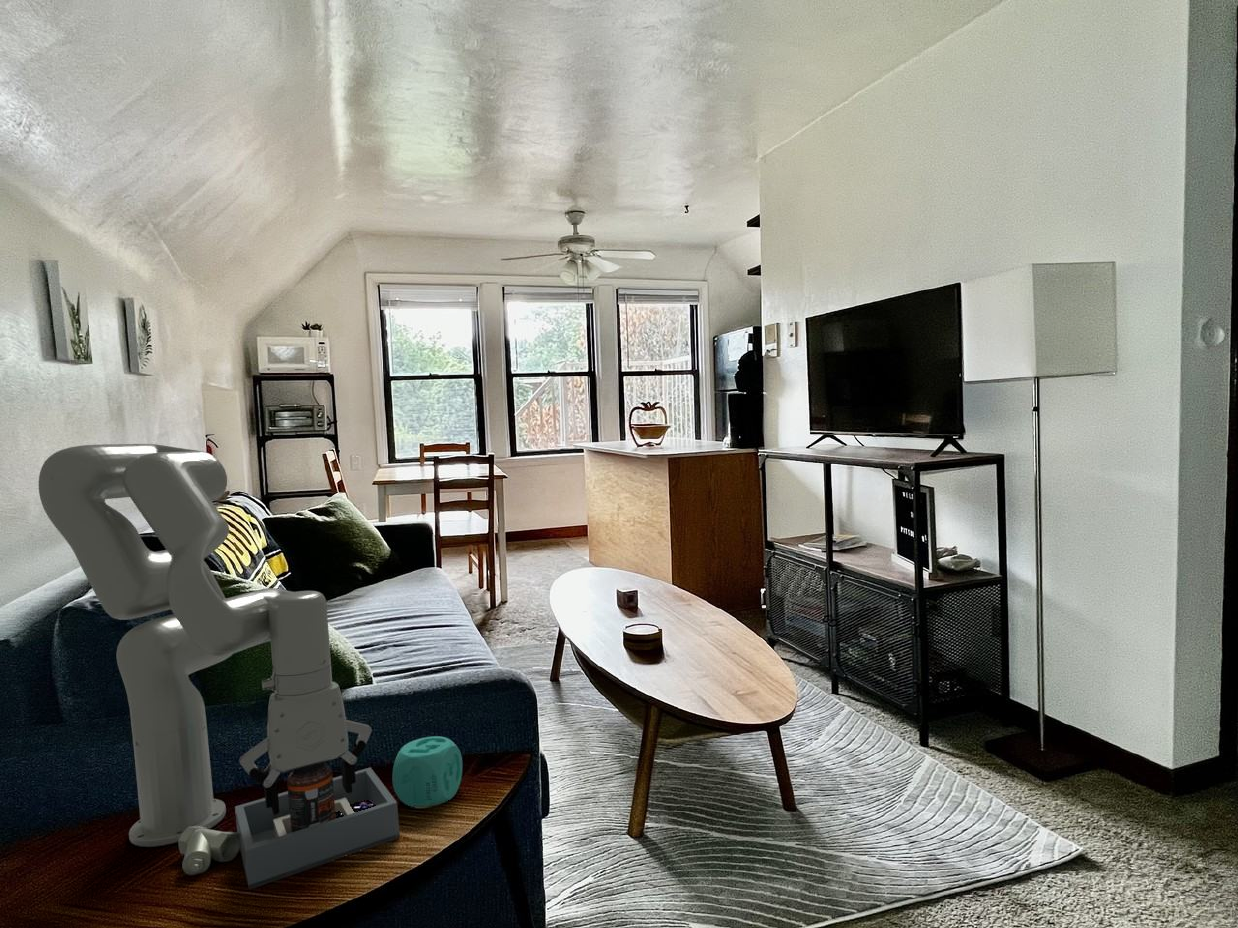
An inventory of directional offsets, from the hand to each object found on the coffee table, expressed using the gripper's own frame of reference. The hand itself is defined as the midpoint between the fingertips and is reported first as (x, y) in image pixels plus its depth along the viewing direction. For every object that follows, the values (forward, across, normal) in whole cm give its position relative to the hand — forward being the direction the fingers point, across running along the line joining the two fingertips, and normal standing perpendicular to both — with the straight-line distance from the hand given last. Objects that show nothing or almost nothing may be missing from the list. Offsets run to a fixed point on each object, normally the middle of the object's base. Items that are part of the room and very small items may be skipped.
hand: (312, 799), depth 104 cm
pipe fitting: (+6, -14, +4) cm, 16 cm away
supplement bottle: (+5, 0, 0) cm, 5 cm away
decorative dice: (+6, +17, +2) cm, 18 cm away
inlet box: (+6, 0, 0) cm, 6 cm away
